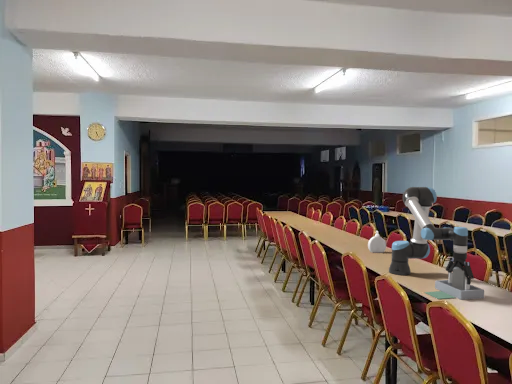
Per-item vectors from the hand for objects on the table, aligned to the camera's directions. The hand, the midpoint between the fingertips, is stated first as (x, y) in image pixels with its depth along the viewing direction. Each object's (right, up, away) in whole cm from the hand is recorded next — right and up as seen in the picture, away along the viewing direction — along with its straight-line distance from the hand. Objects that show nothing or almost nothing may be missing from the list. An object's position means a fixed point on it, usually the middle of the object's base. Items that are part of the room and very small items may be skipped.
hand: (458, 286), depth 225 cm
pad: (-14, -4, -5) cm, 16 cm away
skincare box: (0, -5, 0) cm, 4 cm away
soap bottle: (-11, +1, +120) cm, 120 cm away
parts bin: (0, -4, 0) cm, 4 cm away
